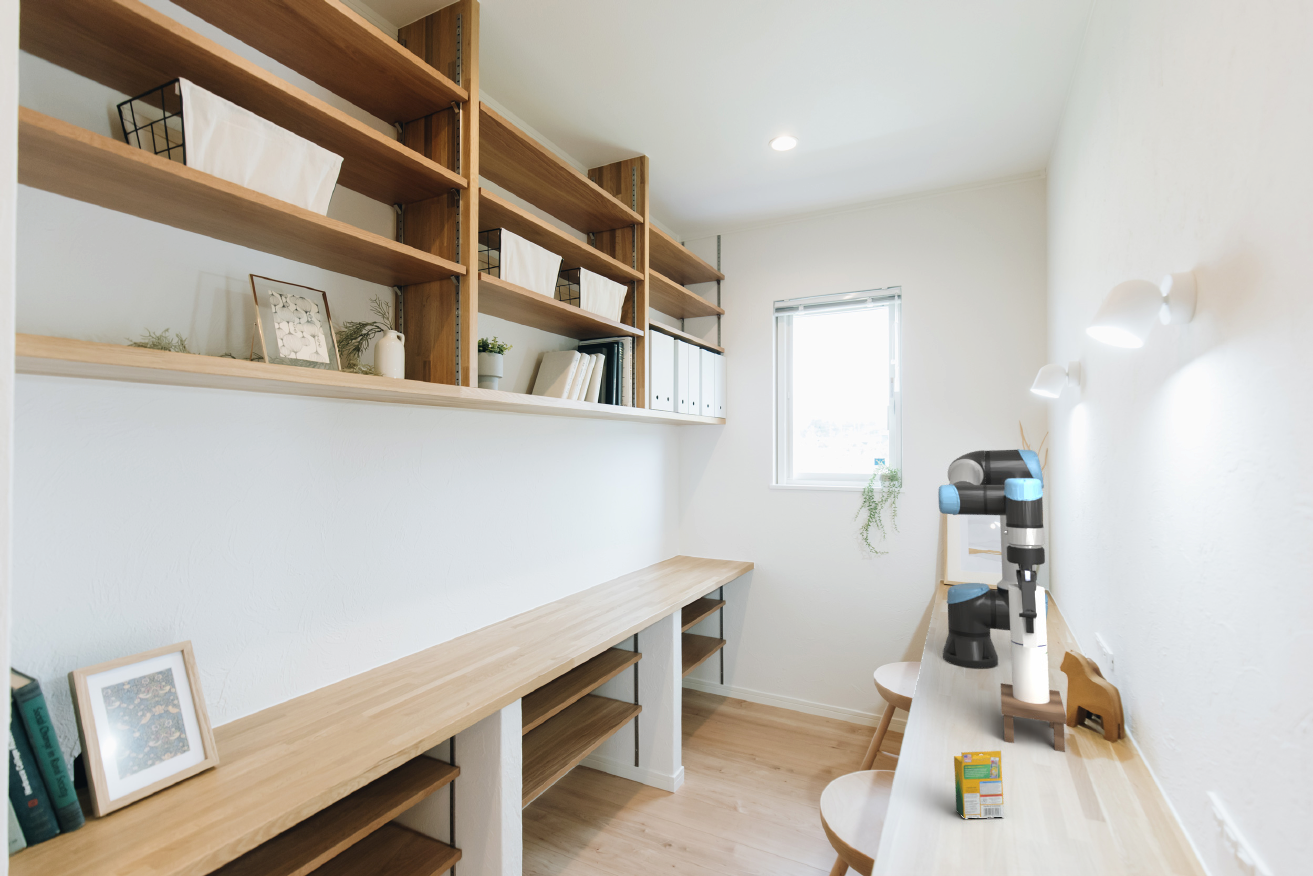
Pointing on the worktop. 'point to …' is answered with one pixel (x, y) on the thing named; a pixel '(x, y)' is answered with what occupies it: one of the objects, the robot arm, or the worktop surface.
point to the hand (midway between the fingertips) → (1028, 639)
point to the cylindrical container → (1029, 651)
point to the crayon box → (979, 784)
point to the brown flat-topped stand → (1034, 714)
